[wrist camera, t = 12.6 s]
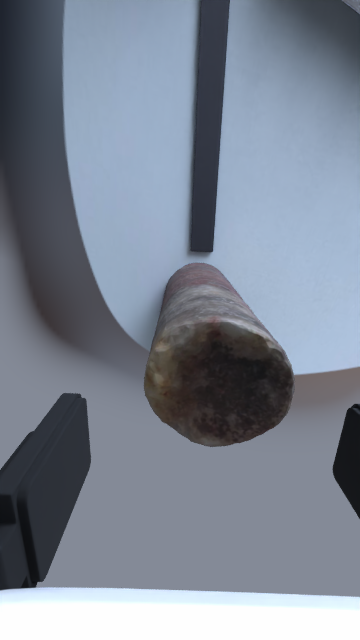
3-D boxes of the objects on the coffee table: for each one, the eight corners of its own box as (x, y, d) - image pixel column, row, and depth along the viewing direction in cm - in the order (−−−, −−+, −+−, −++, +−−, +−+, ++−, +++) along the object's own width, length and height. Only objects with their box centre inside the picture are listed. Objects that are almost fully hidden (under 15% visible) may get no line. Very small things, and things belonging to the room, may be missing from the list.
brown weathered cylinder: (238, 315, 32) (312, 435, 13) (179, 335, 33) (168, 474, 14) (218, 252, 30) (271, 285, 11) (156, 275, 31) (105, 343, 12)
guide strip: (190, 250, 30) (190, 250, 30) (205, -98, 22) (206, -102, 22) (212, 251, 30) (212, 251, 30) (235, -97, 22) (236, -102, 22)
